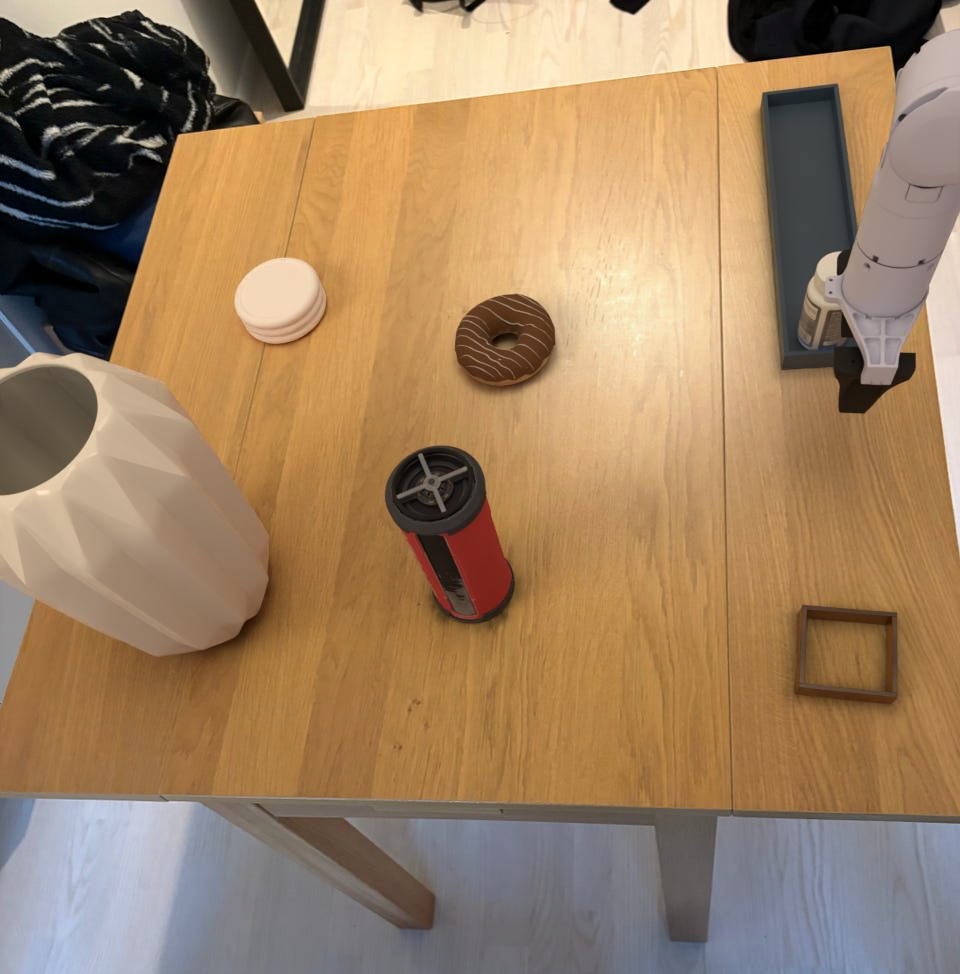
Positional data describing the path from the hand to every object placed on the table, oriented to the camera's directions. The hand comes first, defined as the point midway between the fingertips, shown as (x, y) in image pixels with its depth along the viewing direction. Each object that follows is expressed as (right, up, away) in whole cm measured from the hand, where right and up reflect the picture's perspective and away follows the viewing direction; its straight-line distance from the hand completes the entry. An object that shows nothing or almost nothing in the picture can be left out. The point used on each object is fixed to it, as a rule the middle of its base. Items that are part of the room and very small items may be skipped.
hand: (853, 371), depth 68 cm
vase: (-58, -18, +14) cm, 62 cm away
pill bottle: (+3, +8, +13) cm, 15 cm away
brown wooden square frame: (0, -24, +1) cm, 24 cm away
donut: (-28, +8, +19) cm, 35 cm away
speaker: (-31, -17, +9) cm, 37 cm away
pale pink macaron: (-53, +16, +27) cm, 62 cm away
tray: (+4, +21, +18) cm, 28 cm away
